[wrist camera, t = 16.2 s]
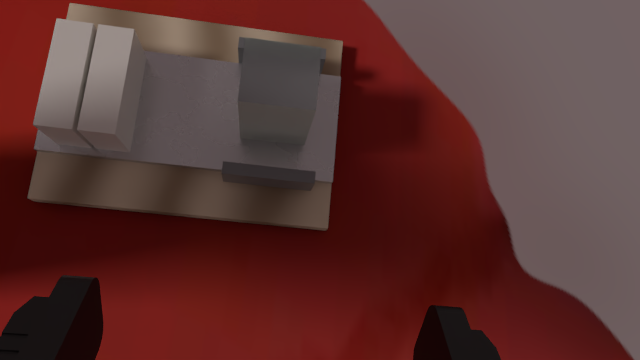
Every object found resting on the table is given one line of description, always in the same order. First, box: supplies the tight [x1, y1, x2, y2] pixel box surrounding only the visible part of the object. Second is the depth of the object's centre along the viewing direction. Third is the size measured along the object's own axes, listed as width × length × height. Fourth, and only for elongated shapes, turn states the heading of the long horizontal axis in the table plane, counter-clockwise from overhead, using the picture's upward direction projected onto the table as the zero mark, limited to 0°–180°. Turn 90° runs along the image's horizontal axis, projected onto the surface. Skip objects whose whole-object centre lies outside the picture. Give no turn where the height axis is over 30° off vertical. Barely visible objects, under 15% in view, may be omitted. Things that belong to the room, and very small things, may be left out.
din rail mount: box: [27, 3, 343, 231], centre depth 35 cm, size 20×14×6 cm
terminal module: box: [238, 37, 321, 145], centre depth 34 cm, size 4×4×7 cm
